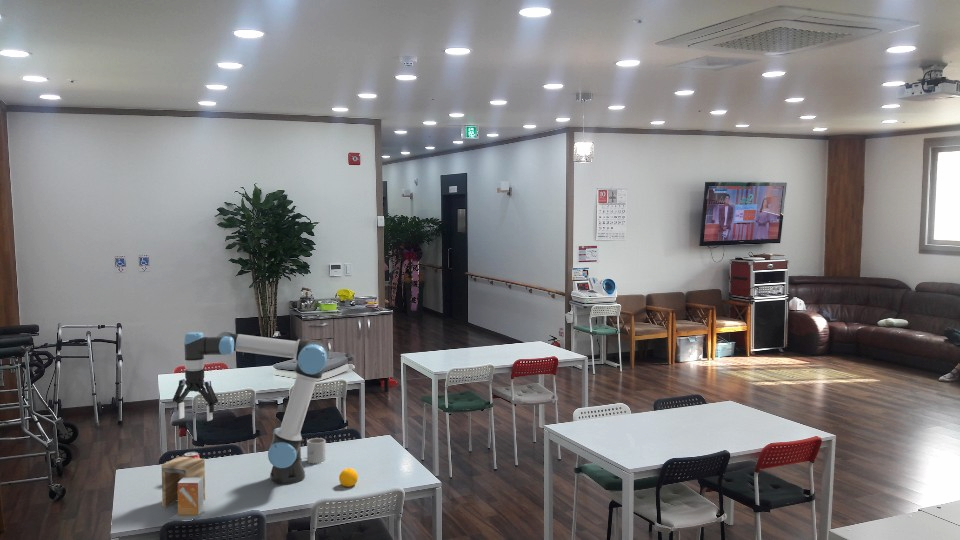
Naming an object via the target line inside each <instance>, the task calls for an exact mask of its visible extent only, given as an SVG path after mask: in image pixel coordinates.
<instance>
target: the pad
mask: <svg viewBox="0 0 960 540" xmlns="http://www.w3.org/2000/svg"><path fill="white" fill-rule="evenodd" d="M205 513H206V511H203V510H202V512H201V513H200V514H199V515H178V513H176V514H174V515H173V516H171V517H170V518H169V519H170V520H172V521H178V520H192V519H195V520H196V519H198V518H199V517H201V516H203V515H205Z"/></svg>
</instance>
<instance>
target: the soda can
mask: <svg viewBox="0 0 960 540" xmlns="http://www.w3.org/2000/svg"><path fill="white" fill-rule="evenodd" d="M183 457H190V458H200V455H199V452H197V451H188V452H186V453H184V455H183ZM200 459H201V458H200Z"/></svg>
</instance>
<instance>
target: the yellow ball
mask: <svg viewBox="0 0 960 540" xmlns="http://www.w3.org/2000/svg"><path fill="white" fill-rule="evenodd" d="M338 477H339V478H338V480H339V483H340V485H341V486H343V487H348V488H349V487H353V486H355V485H356V484H357V482H358V479H359V476H358V472H357V471H356V470H355V469H354V468H351V467H350V468H349V467H348V468H344V469H342V471H341V472H340V474H339V476H338Z"/></svg>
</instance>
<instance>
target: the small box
mask: <svg viewBox="0 0 960 540" xmlns="http://www.w3.org/2000/svg"><path fill="white" fill-rule="evenodd" d="M204 502H205V500H204V496H203V477H202V478H196V477H191V478H182V479H181V480H180V481H179V482H178V501H177V514H178V515H199V514H200V513H201V512H202V511H203V510H204V509H205V507H204V505H205V504H204Z"/></svg>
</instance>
